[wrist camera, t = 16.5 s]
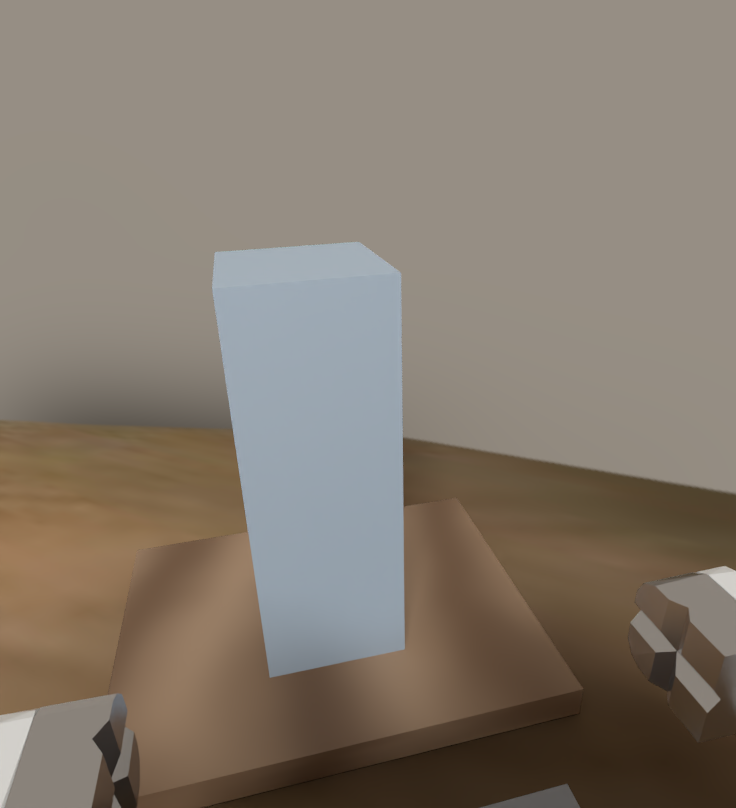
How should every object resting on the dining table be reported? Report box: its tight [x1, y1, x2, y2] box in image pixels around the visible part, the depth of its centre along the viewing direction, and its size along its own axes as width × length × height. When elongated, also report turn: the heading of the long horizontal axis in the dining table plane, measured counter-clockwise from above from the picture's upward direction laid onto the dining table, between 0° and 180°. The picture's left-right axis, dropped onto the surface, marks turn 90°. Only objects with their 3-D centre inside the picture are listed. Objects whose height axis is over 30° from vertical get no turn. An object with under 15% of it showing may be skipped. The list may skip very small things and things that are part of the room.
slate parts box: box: [212, 242, 405, 678], centre depth 21 cm, size 5×6×14 cm
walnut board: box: [108, 498, 584, 808], centre depth 24 cm, size 16×12×1 cm
